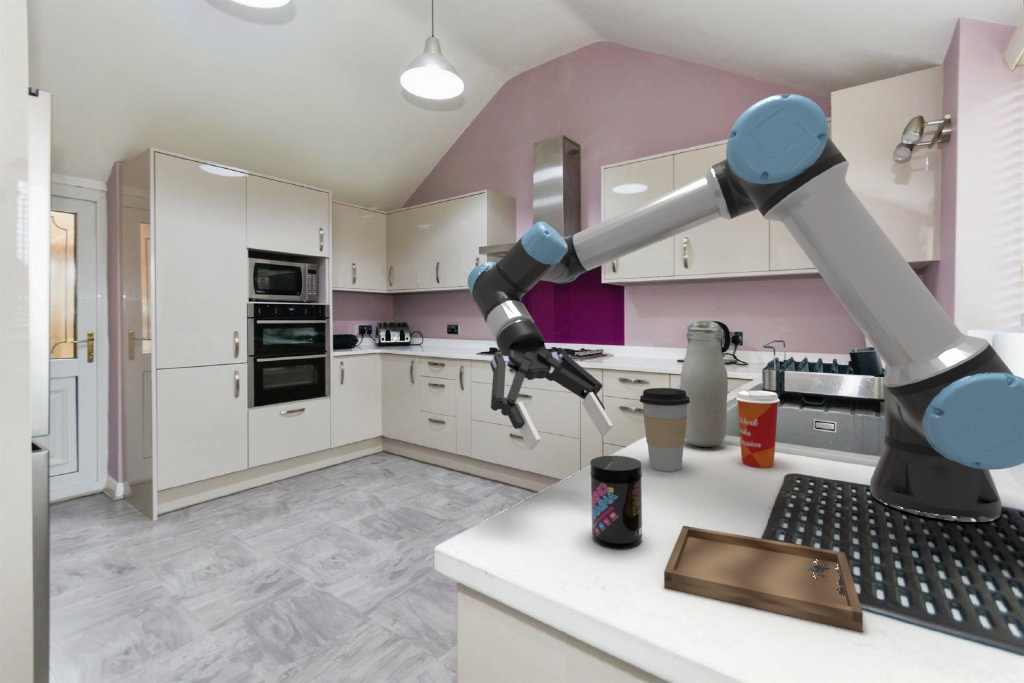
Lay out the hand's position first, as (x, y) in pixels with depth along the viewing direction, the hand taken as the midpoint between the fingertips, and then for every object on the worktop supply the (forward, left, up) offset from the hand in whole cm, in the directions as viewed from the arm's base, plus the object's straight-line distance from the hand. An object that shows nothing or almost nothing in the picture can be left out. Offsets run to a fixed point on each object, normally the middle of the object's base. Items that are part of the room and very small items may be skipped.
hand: (573, 437), depth 73 cm
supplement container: (-7, +4, -12) cm, 15 cm away
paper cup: (-23, -39, -12) cm, 47 cm away
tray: (-24, +7, -12) cm, 28 cm away
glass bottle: (-12, -49, -12) cm, 52 cm away
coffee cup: (-7, -30, -12) cm, 34 cm away
